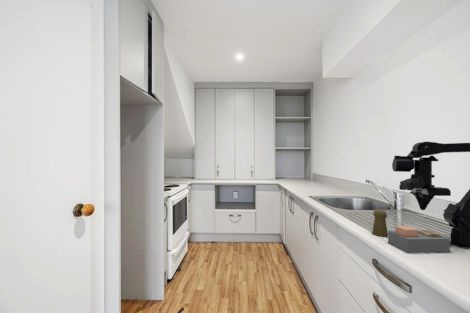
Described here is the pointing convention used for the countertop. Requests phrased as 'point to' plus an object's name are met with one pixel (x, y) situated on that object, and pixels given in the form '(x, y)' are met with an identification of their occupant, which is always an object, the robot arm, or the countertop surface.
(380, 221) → the olive brown cylinder
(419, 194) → the robot arm
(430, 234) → the oak key
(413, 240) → the grey socket block
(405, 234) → the terracotta key
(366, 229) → the countertop surface
